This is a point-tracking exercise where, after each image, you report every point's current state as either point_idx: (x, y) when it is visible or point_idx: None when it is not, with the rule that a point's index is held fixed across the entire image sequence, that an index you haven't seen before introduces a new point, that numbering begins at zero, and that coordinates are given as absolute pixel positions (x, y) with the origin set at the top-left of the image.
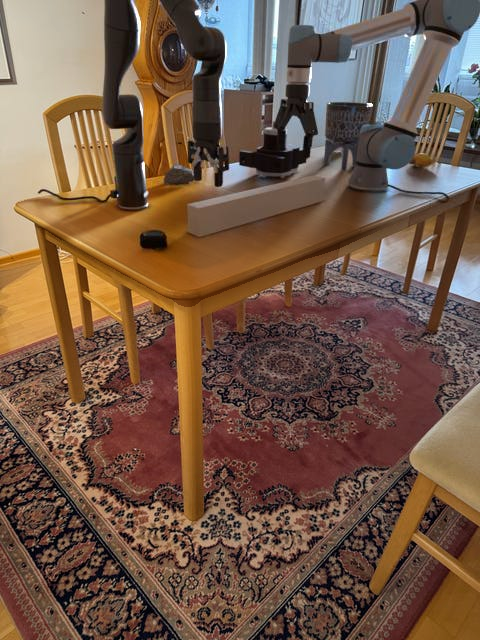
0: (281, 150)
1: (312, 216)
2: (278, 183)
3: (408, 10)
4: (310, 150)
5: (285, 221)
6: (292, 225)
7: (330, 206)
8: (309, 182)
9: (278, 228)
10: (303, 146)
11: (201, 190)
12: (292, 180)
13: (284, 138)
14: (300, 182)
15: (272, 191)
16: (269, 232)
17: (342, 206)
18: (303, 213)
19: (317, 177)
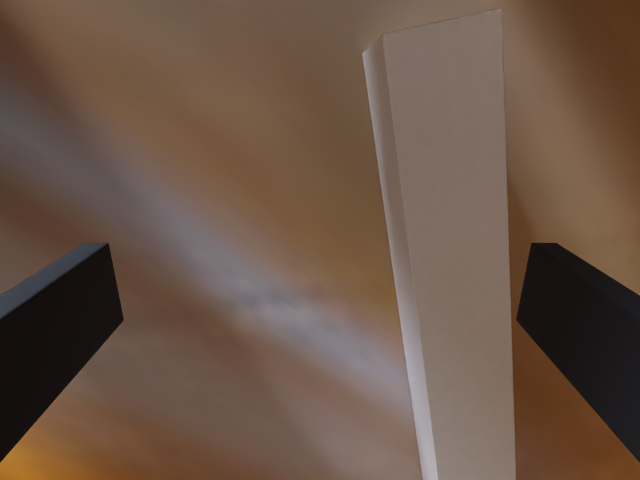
0: (113, 286)
1: None
2: (429, 389)
3: None
4: (606, 276)
5: (548, 380)
6: None
7: (538, 70)
8: (506, 207)
9: (582, 435)
10: (592, 398)
11: None
12: (420, 285)
13: (11, 326)
14: (490, 276)
15: (514, 474)
16: (588, 472)
17: (584, 3)
18: (526, 267)
19: (457, 66)
